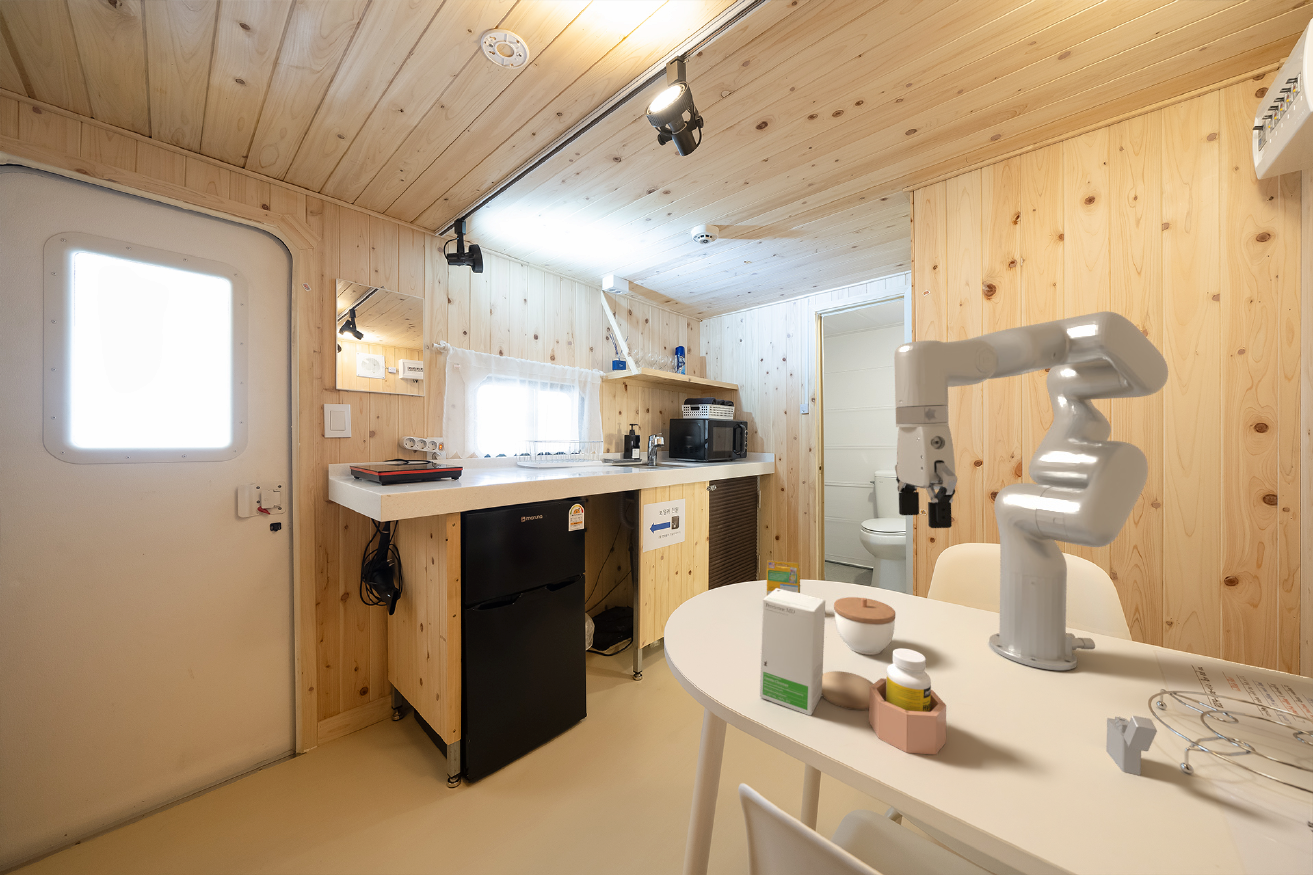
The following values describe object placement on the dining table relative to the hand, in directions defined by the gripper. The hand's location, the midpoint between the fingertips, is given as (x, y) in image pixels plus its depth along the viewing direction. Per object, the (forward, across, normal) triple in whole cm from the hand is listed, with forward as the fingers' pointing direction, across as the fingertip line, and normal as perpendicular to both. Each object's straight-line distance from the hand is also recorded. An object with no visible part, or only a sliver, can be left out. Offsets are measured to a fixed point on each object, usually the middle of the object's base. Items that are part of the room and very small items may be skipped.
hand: (923, 520), depth 76 cm
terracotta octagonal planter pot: (+26, -14, +10) cm, 31 cm away
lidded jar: (+27, +11, +6) cm, 30 cm away
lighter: (+27, -20, -14) cm, 36 cm away
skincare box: (+26, -7, +24) cm, 36 cm away
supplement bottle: (+25, -14, +10) cm, 31 cm away
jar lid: (+26, -5, +15) cm, 30 cm away
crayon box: (+27, +28, +18) cm, 42 cm away
